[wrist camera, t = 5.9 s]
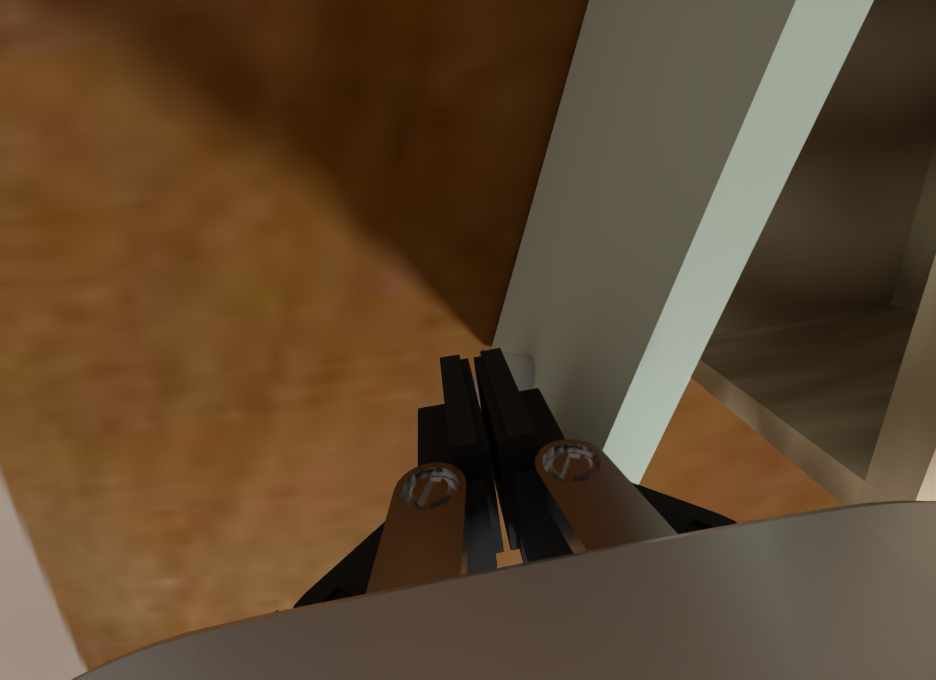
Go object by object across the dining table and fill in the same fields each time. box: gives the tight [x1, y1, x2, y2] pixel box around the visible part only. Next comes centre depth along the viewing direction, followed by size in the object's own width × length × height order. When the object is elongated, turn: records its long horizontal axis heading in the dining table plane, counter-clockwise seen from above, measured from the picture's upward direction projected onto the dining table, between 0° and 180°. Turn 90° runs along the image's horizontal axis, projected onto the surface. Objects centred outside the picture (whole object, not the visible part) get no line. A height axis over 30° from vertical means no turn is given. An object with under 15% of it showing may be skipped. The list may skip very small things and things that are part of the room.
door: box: [474, 0, 874, 485], centre depth 12 cm, size 20×3×11 cm, turn 167°
